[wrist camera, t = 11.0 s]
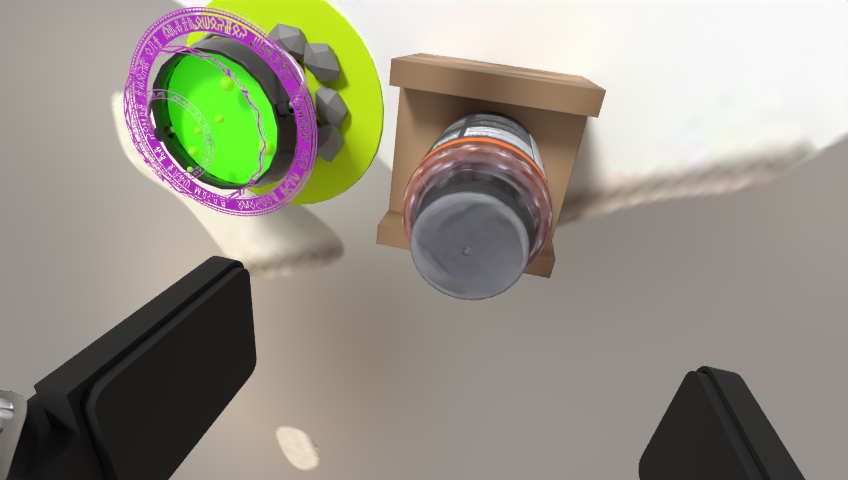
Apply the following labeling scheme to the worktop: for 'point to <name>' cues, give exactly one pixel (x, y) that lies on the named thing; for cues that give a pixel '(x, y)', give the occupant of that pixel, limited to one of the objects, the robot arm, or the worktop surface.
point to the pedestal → (486, 91)
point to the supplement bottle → (477, 207)
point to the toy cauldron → (261, 102)
